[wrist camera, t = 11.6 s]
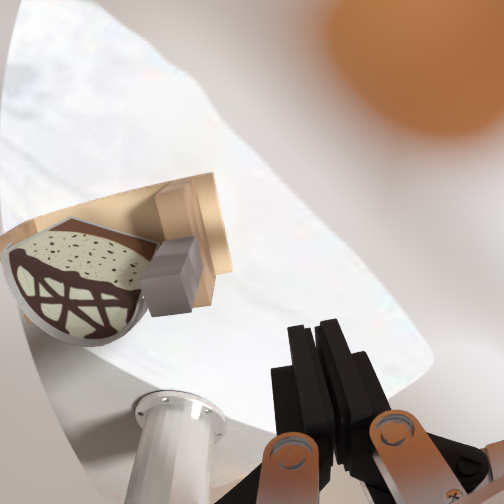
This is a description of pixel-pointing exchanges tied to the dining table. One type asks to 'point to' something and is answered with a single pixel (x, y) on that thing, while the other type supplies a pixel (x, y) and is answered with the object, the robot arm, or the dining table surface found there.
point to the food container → (80, 280)
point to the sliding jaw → (179, 255)
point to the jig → (138, 218)
